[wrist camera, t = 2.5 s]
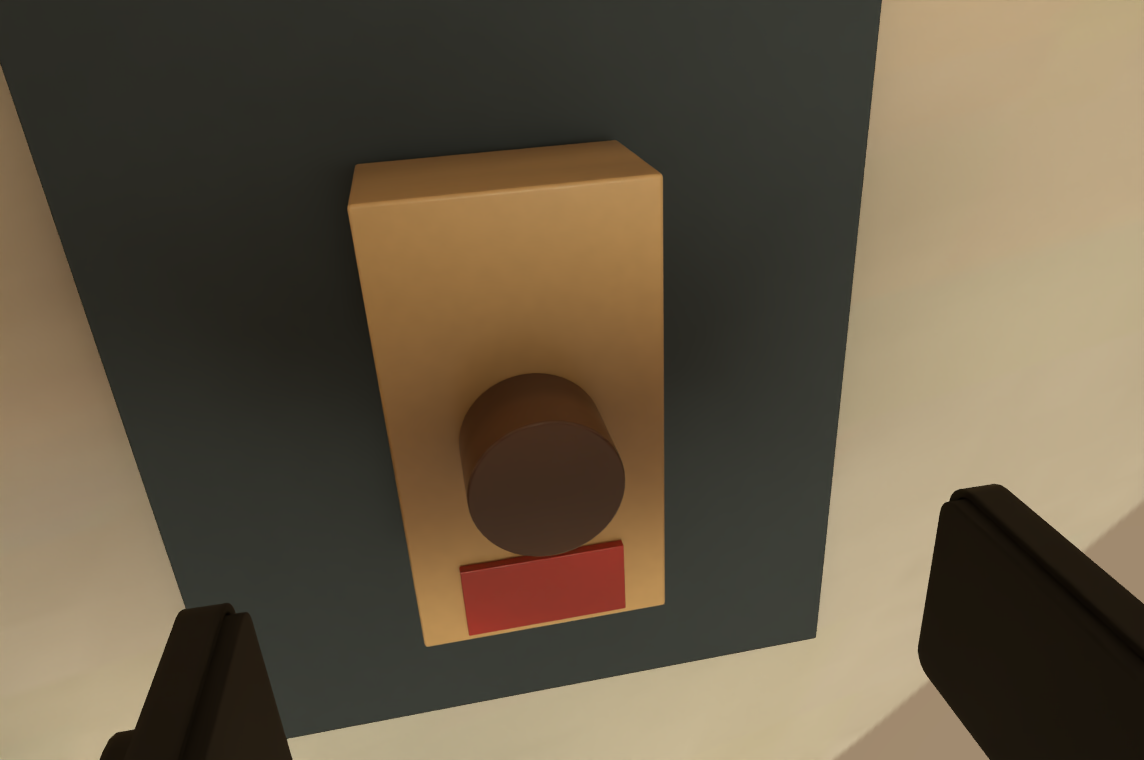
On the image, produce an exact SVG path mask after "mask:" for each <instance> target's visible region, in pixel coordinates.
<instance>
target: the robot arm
mask: <svg viewBox="0 0 1144 760" xmlns="http://www.w3.org/2000/svg"><path fill="white" fill-rule="evenodd" d="M918 654H919V659H920V663H921V666H922V668H923V670H924V672H925V674H926V675H927V677H928V678H929V679H930V681H931V682H932V683H933V685H934V686H935V687H936V689H937V690H938V691H939V692H940V694H941V695H942V696H943V698H944V699H945V701H946V702H947V703H948V705H949V706H950V707H951V709H952V710H953V711H954V713H955V714H956V715H957V717H958V718H959V719H960V721H961V722H962V723H963V725H964V726H965V727H966V729H967V730H968V731H969V733H971V735H972V736H973V738H974V739H975V740H976V742H977V743H978V744H979V746H980V747H981V749H982V750H983V751H984V752H985V754H986V755H987V757H988V758H989V759H990V760H1144V604H1143V603H1142V602H1141V601H1140V600H1138V599H1137V598H1136V597H1135V596H1133V595H1132V594H1131V593H1130V592H1129V591H1128V590H1126V589H1125V588H1124V587H1123V586H1122V585H1121V584H1119V583H1118V582H1117V581H1116V580H1115V579H1113V578H1112V577H1111V576H1110V575H1108V574H1107V573H1106V572H1105V571H1104V570H1103V569H1101V568H1100V567H1099V566H1098V565H1097V564H1096V563H1094V562H1093V561H1092V560H1091V559H1090V558H1088V557H1087V556H1086V555H1085V554H1084V553H1083V552H1081V551H1080V550H1079V549H1078V548H1077V547H1075V546H1074V545H1073V544H1072V543H1071V542H1069V541H1068V540H1067V539H1066V538H1065V537H1064V536H1062V535H1061V534H1060V533H1059V532H1058V531H1056V530H1055V529H1054V528H1053V527H1052V526H1050V525H1049V524H1048V523H1047V522H1046V521H1044V520H1043V519H1042V518H1041V517H1040V516H1039V515H1037V514H1036V513H1035V512H1034V511H1033V510H1031V509H1030V508H1029V507H1028V506H1027V505H1025V504H1024V503H1023V502H1022V501H1021V500H1020V499H1018V498H1017V497H1016V496H1015V495H1014V494H1012V493H1011V492H1010V491H1009V490H1008V489H1006V488H1005V487H1003V486H1001V485H998V484H991V485H984V486H978V487H972V488H965V489H959V490H957V491H955V492H954V493H953V494H952V495H951V498H950V501H949V502H946V503H944V504H943V506H942V507H941V511H940V516H939V522H938V528H937V534H936V540H935V546H934V553H933V559H932V565H931V571H930V577H929V583H928V589H927V595H926V601H925V608H924V614H923V620H922V626H921V632H920V638H919V644H918ZM100 760H292V757H291V753H290V750H289V746H288V743H287V739H286V736H285V732H284V729H283V725H282V722H281V718H280V715H279V712H278V708H277V705H276V701H275V698H274V694H273V691H272V687H271V684H270V680H269V677H268V673H267V670H266V667H265V663H264V660H263V656H262V653H261V649H260V646H259V642H258V639H257V635H256V632H255V628H254V625H253V621H252V619H251V616H250V614H249V613H248V612H242V613H236V612H235V610H234V608H233V606H232V605H231V604H230V603H223V604H216V605H210V606H203V607H197V608H190V609H184V610H182V611H180V612H179V613H178V615H177V617H176V619H175V622H174V625H173V628H172V630H171V633H170V636H169V638H168V641H167V644H166V646H165V649H164V652H163V655H162V657H161V660H160V663H159V665H158V668H157V671H156V673H155V676H154V679H153V681H152V684H151V687H150V690H149V692H148V695H147V698H146V700H145V703H144V706H143V708H142V711H141V714H140V717H139V719H138V722H137V725H136V727H135V730H129V731H123V732H118V733H116V734H115V735H114V736H112V737H111V738H110V739H109V741H108V743H107V745H106V747H105V749H104V750H103V753H102V755H101V758H100Z"/></svg>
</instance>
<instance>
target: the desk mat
mask: <svg viewBox="0 0 1144 760" xmlns="http://www.w3.org/2000/svg"><path fill="white" fill-rule="evenodd" d="M881 3H882V0H0V64H1V67H2V70H3V73H4V76H5V78H6V81H7V84H8V87H9V90H10V93H11V96H12V99H13V102H14V105H15V108H16V111H17V114H18V117H19V120H20V123H21V125H22V128H23V131H24V134H25V137H26V140H27V143H28V146H29V149H30V152H31V155H32V158H33V161H34V164H35V167H36V170H37V173H38V175H39V178H40V181H41V184H42V187H43V190H44V193H45V196H46V199H47V202H48V205H49V208H50V211H51V214H52V217H53V220H54V222H55V225H56V228H57V231H58V234H59V237H60V240H61V243H62V246H63V249H64V252H65V255H66V258H67V261H68V264H69V267H70V269H71V272H72V275H73V278H74V281H75V284H76V287H77V290H78V293H79V296H80V299H81V302H82V305H83V308H84V311H85V314H86V316H87V319H88V322H89V325H90V328H91V331H92V334H93V337H94V340H95V343H96V346H97V349H98V352H99V355H100V358H101V361H102V364H103V366H104V369H105V372H106V375H107V378H108V381H109V384H110V387H111V390H112V393H113V396H114V399H115V402H116V405H117V408H118V411H119V413H120V416H121V419H122V422H123V425H124V428H125V431H126V434H127V437H128V440H129V443H130V446H131V449H132V452H133V455H134V458H135V460H136V463H137V466H138V469H139V472H140V475H141V478H142V481H143V484H144V487H145V490H146V493H147V496H148V499H149V502H150V505H151V508H152V510H153V513H154V516H155V519H156V522H157V525H158V528H159V531H160V534H161V537H162V540H163V543H164V546H165V549H166V552H167V555H168V557H169V560H170V563H171V566H172V569H173V572H174V575H175V578H176V581H177V584H178V587H179V590H180V593H181V596H182V599H183V602H184V604H185V607H186V609H190V608H197V607H203V606H210V605H216V604H223V603H230V604H231V605H232V606H233V608H234V610H235V612H236V613H242V612H248V613H249V614H250V616H251V619H252V621H253V625H254V628H255V632H256V635H257V639H258V642H259V646H260V649H261V653H262V656H263V660H264V663H265V667H266V670H267V673H268V677H269V680H270V684H271V687H272V691H273V694H274V698H275V701H276V705H277V708H278V712H279V715H280V718H281V722H282V725H283V729H284V732H285V736H286V739H288V738H293V737H299V736H304V735H309V734H314V733H320V732H325V731H330V730H335V729H341V728H346V727H351V726H356V725H361V724H367V723H372V722H377V721H382V720H388V719H393V718H398V717H403V716H409V715H414V714H419V713H424V712H430V711H435V710H440V709H445V708H451V707H456V706H461V705H466V704H472V703H477V702H482V701H487V700H493V699H498V698H503V697H508V696H513V695H519V694H524V693H529V692H534V691H540V690H545V689H550V688H555V687H561V686H566V685H571V684H576V683H582V682H587V681H592V680H597V679H603V678H608V677H613V676H618V675H624V674H629V673H634V672H639V671H645V670H650V669H655V668H660V667H665V666H671V665H676V664H681V663H686V662H692V661H697V660H702V659H707V658H713V657H718V656H723V655H728V654H734V653H739V652H744V651H749V650H755V649H760V648H765V647H770V646H776V645H781V644H786V643H791V642H797V641H802V640H807V639H812V638H816V631H817V621H818V612H819V602H820V592H821V583H822V573H823V563H824V554H825V544H826V534H827V525H828V515H829V505H830V496H831V486H832V476H833V467H834V457H835V447H836V438H837V428H838V418H839V409H840V399H841V389H842V380H843V370H844V360H845V351H846V341H847V331H848V322H849V312H850V302H851V293H852V283H853V273H854V264H855V254H856V244H857V235H858V225H859V215H860V206H861V196H862V187H863V177H864V167H865V158H866V148H867V138H868V129H869V119H870V109H871V100H872V90H873V80H874V71H875V61H876V51H877V42H878V32H879V22H880V13H881ZM611 140H616V141H618V142H620V143H621V144H622V145H624V146H625V147H626V148H628V149H629V150H630V151H632V152H633V153H634V154H636V155H637V156H638V157H640V158H641V159H642V160H644V161H645V162H646V163H648V164H649V165H650V166H652V167H653V168H654V169H656V170H657V171H658V172H660V173H661V174H662V176H663V313H664V538H665V603H664V604H663V605H658V606H653V607H647V608H642V609H636V610H630V611H625V612H619V613H614V614H608V615H603V616H597V617H591V618H586V619H580V620H575V621H569V622H564V623H558V624H552V625H547V626H541V627H536V628H530V629H524V630H519V631H513V632H508V633H502V634H497V635H491V636H485V637H480V638H474V639H469V640H463V641H458V642H452V643H446V644H441V645H435V646H430V647H427V646H426V645H425V644H424V639H423V633H422V628H421V622H420V616H419V611H418V605H417V599H416V594H415V588H414V583H413V577H412V571H411V566H410V560H409V554H408V549H407V543H406V537H405V532H404V526H403V521H402V515H401V509H400V504H399V498H398V492H397V487H396V481H395V475H394V470H393V464H392V459H391V453H390V447H389V442H388V436H387V430H386V425H385V419H384V413H383V408H382V402H381V397H380V391H379V385H378V380H377V374H376V368H375V363H374V357H373V351H372V346H371V340H370V335H369V329H368V323H367V318H366V312H365V306H364V301H363V295H362V289H361V284H360V278H359V273H358V267H357V261H356V256H355V250H354V244H353V239H352V233H351V227H350V222H349V216H348V211H347V207H348V201H349V196H350V191H351V185H352V180H353V174H354V169H355V165H357V164H364V163H374V162H385V161H396V160H407V159H417V158H428V157H439V156H450V155H460V154H471V153H482V152H493V151H503V150H514V149H525V148H535V147H546V146H557V145H568V144H578V143H589V142H600V141H611Z"/></svg>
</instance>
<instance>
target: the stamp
mask: <svg viewBox="0 0 1144 760" xmlns="http://www.w3.org/2000/svg"><path fill="white" fill-rule="evenodd" d="M347 211H348V216H349V222H350V227H351V233H352V239H353V244H354V250H355V256H356V261H357V267H358V273H359V278H360V284H361V289H362V295H363V301H364V306H365V312H366V318H367V323H368V329H369V335H370V340H371V346H372V351H373V357H374V363H375V368H376V374H377V380H378V385H379V391H380V397H381V402H382V408H383V413H384V419H385V425H386V430H387V436H388V442H389V447H390V453H391V459H392V464H393V470H394V475H395V481H396V487H397V492H398V498H399V504H400V509H401V515H402V521H403V526H404V532H405V537H406V543H407V549H408V554H409V560H410V566H411V571H412V577H413V583H414V588H415V594H416V599H417V605H418V611H419V616H420V622H421V628H422V633H423V639H424V644H425V645H426V646H427V647H430V646H435V645H441V644H446V643H452V642H458V641H463V640H469V639H474V638H480V637H485V636H491V635H497V634H502V633H508V632H513V631H519V630H524V629H530V628H536V627H541V626H547V625H552V624H558V623H564V622H569V621H575V620H580V619H586V618H591V617H597V616H603V615H608V614H614V613H619V612H625V611H630V610H636V609H642V608H647V607H653V606H658V605H663V604H664V603H665V538H664V313H663V176H662V174H661V173H660V172H658V171H657V170H656V169H654V168H653V167H652V166H650V165H649V164H648V163H646V162H645V161H644V160H642V159H641V158H640V157H638V156H637V155H636V154H634V153H633V152H632V151H630V150H629V149H628V148H626V147H625V146H624V145H622V144H621V143H620V142H618V141H616V140H611V141H600V142H589V143H578V144H568V145H557V146H546V147H535V148H525V149H514V150H503V151H493V152H482V153H471V154H460V155H450V156H439V157H428V158H417V159H407V160H396V161H385V162H374V163H364V164H357V165H355V169H354V174H353V180H352V185H351V191H350V196H349V201H348V207H347Z"/></svg>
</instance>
